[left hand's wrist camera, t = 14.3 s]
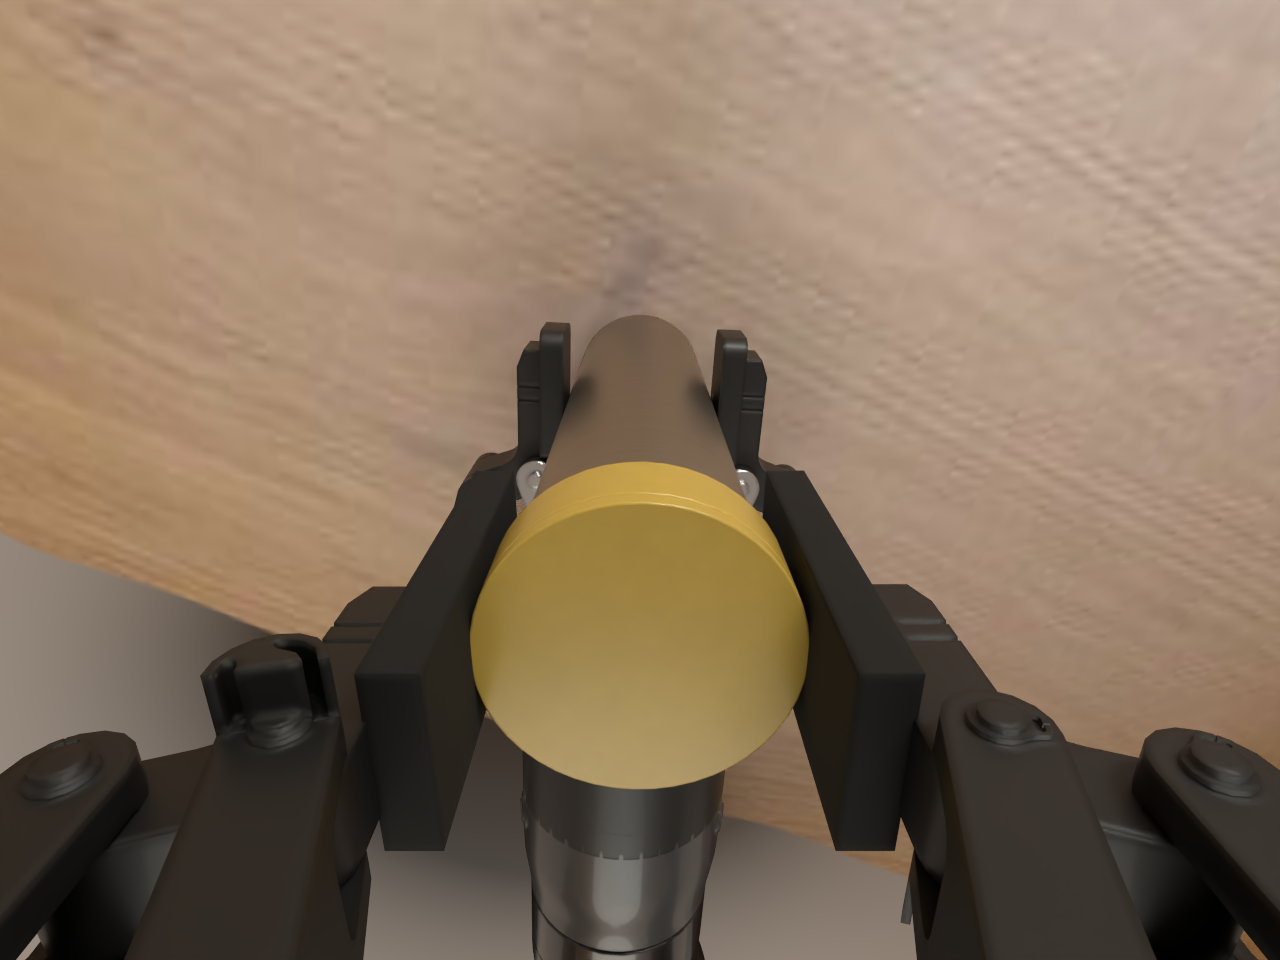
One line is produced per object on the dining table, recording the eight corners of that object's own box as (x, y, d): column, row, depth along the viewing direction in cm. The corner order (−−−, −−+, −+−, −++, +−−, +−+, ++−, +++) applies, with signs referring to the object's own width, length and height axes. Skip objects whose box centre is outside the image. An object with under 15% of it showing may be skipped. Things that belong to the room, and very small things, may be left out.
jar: (574, 419, 29) (479, 737, 12) (590, 305, 27) (507, 484, 10) (685, 437, 29) (749, 773, 12) (708, 325, 27) (819, 533, 10)
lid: (477, 700, 13) (455, 768, 11) (505, 436, 11) (483, 475, 10) (751, 738, 13) (766, 809, 12) (822, 488, 11) (851, 532, 10)
